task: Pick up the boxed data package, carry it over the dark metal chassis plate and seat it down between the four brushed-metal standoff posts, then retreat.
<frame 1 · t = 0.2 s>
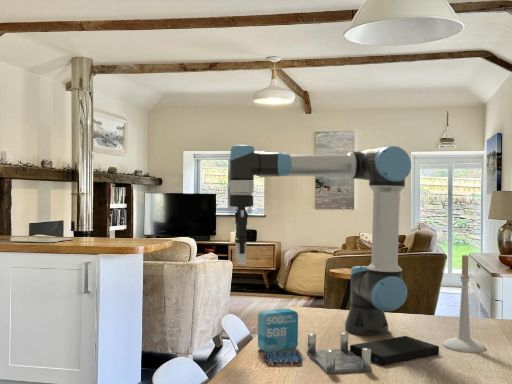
hand: (240, 261, 181), 27 cm above the table, fingers open, 13 cm apart
data package: (277, 349, 179), on the table
woven mat: (282, 363, 167), on the table
external hard drive: (394, 356, 175), on the table
chassis: (337, 362, 167), on the table
candlestick: (463, 347, 185), on the table
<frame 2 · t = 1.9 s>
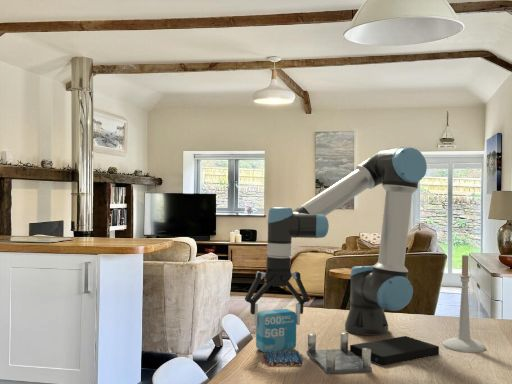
hand: (276, 324, 179), 8 cm above the table, fingers open, 13 cm apart
nothing on the table moved.
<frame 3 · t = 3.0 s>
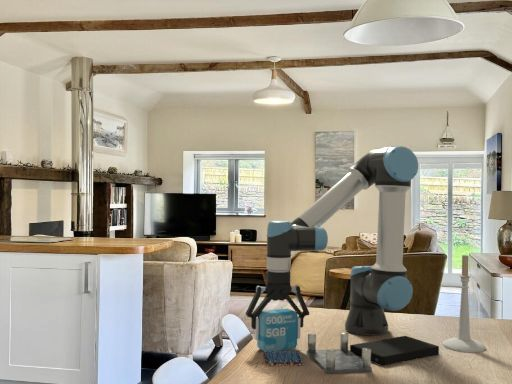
hand: (277, 338, 179), 3 cm above the table, fingers closed on data package, 13 cm apart
data package: (277, 349, 179), on the table, touching gripper
everything else where it was.
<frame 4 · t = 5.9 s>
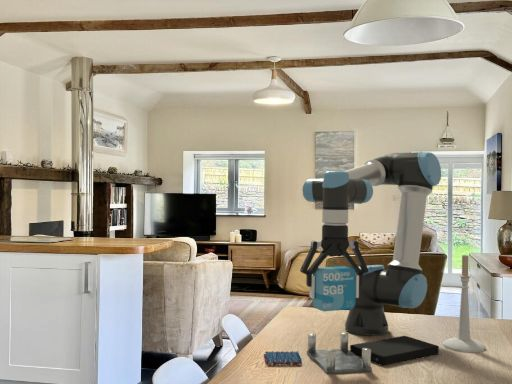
hand: (334, 297, 167), 19 cm above the table, fingers closed on data package, 13 cm apart
data package: (334, 309, 167), point 15 cm above the table, touching gripper
everything else where it was.
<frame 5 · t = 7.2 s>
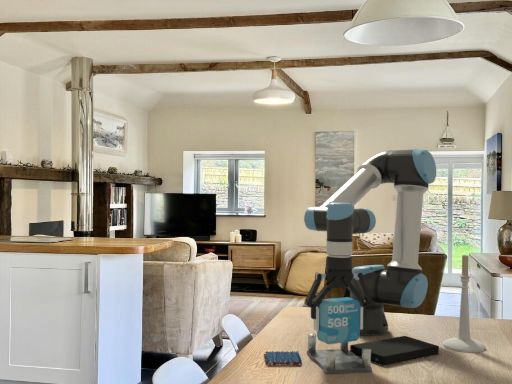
hand: (338, 329, 166), 10 cm above the table, fingers closed on data package, 13 cm apart
data package: (338, 341, 166), point 6 cm above the table, touching gripper
everything else where it was.
when the fingers open (6 cm above the table, at t = 8.6 s): data package drops 2 cm, resting on chassis.
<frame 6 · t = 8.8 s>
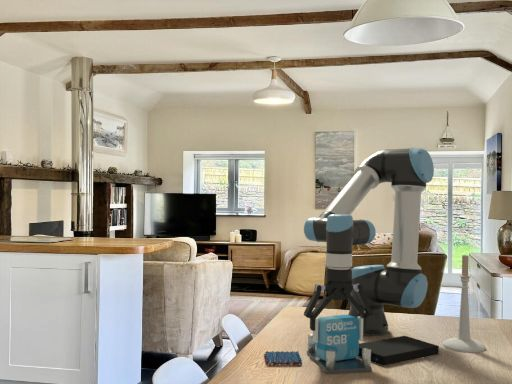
hand: (337, 340, 166), 6 cm above the table, fingers open, 13 cm apart
data package: (337, 359, 166), point 1 cm above the table, touching chassis, gripper
everything else where it was.
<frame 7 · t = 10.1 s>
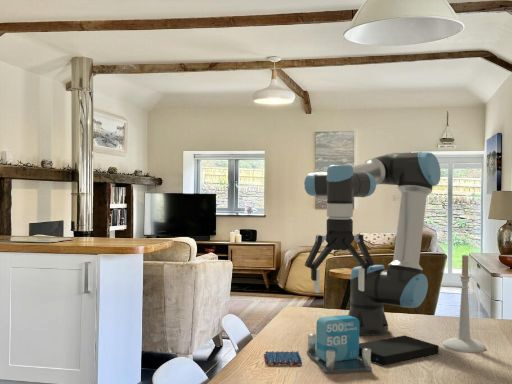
hand: (339, 291, 167), 21 cm above the table, fingers open, 13 cm apart
data package: (337, 359, 166), point 1 cm above the table, touching chassis
everything else where it was.
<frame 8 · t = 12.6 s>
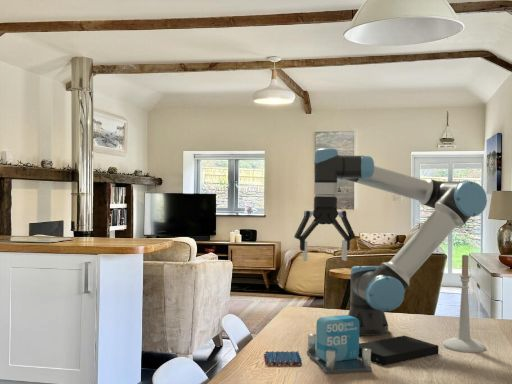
hand: (324, 260, 188), 27 cm above the table, fingers open, 13 cm apart
nothing on the table moved.
at the end: data package 0.1 cm off-centre on the chassis, point 0.8 cm above the chassis's base; data package tilted 0°; the gripper is holding nothing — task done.
